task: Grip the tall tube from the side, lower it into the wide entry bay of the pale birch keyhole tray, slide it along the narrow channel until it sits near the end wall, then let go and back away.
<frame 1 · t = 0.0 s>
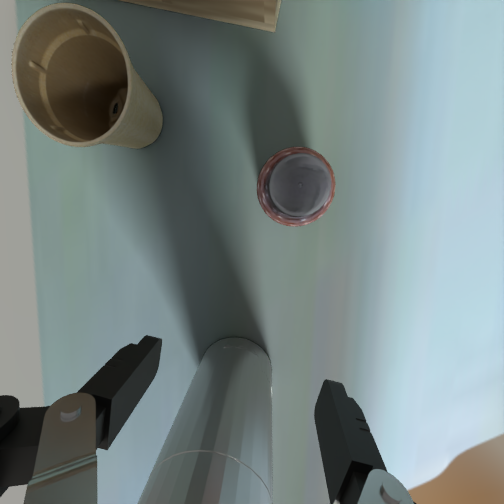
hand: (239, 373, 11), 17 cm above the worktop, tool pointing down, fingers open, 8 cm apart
flower pot: (136, 119, 26), on the worktop
supplement bottle: (287, 192, 26), on the worktop
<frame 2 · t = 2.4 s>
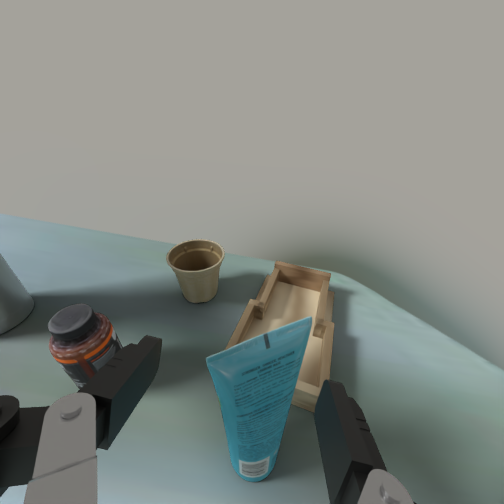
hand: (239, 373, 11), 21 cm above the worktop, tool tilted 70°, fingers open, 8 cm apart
flower pot: (200, 292, 45), on the worktop
keyhole tray: (285, 331, 38), on the worktop
supplement bottle: (106, 373, 32), on the worktop
tube: (251, 451, 25), on the worktop
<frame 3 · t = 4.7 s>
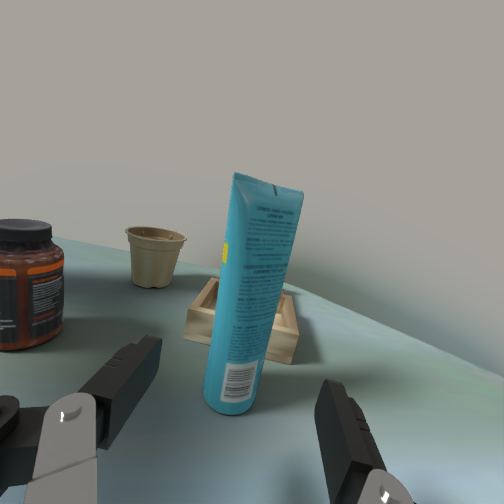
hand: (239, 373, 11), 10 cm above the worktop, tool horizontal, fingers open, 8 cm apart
flower pot: (151, 282, 41), on the worktop
keyhole tray: (245, 311, 38), on the worktop
supplement bottle: (25, 335, 24), on the worktop
tube: (226, 393, 22), on the worktop
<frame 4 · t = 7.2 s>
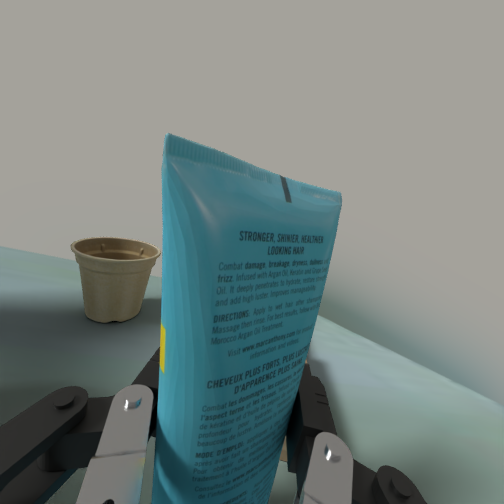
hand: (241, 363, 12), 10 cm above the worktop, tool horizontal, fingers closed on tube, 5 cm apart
flower pot: (114, 311, 31), on the worktop
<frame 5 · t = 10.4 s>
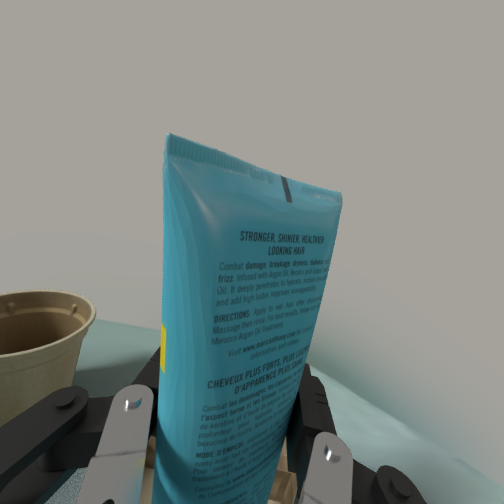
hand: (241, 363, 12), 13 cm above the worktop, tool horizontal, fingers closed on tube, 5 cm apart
flower pot: (27, 403, 21), on the worktop
keyhole tray: (204, 492, 18), on the worktop
when the fingers open (12 cm above the worktop, at t = 13.7 s): tube stays where it is, resting on keyhole tray.
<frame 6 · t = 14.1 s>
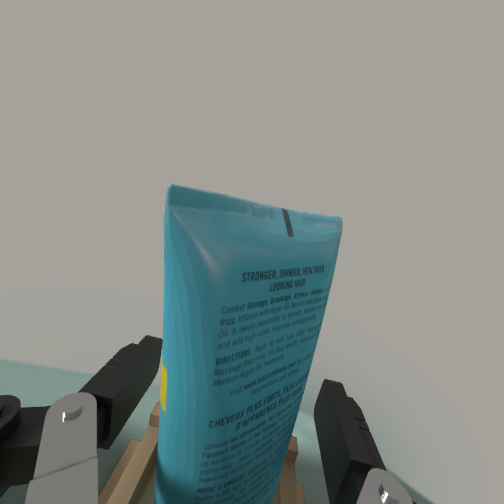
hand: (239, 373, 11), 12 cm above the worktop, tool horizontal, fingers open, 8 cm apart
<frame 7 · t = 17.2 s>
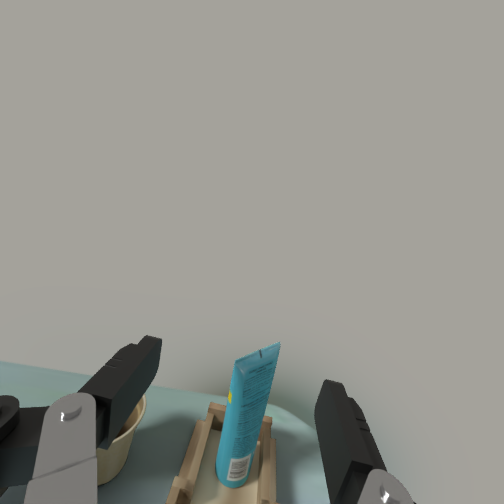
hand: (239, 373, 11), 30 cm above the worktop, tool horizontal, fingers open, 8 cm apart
flower pot: (101, 461, 32), on the worktop
tube: (230, 468, 33), point 1 cm above the worktop, touching keyhole tray
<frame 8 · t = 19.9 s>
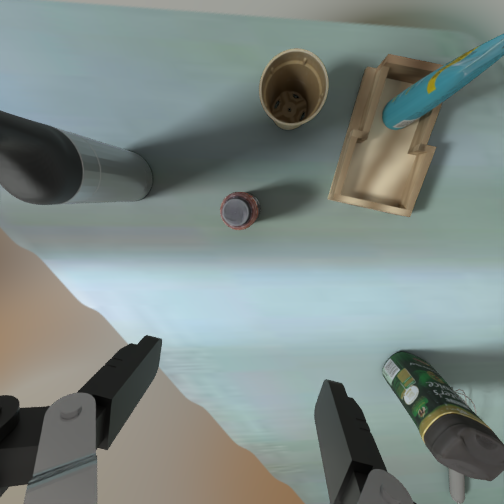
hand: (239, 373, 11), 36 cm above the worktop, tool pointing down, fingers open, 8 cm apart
kitchen whisk: (449, 438, 54), on the worktop
flower pot: (289, 110, 41), on the worktop
keyhole tray: (381, 149, 41), on the worktop
coffee jar: (404, 367, 50), on the worktop
supplement bottle: (245, 208, 46), on the worktop
tube: (395, 114, 39), point 1 cm above the worktop, touching keyhole tray
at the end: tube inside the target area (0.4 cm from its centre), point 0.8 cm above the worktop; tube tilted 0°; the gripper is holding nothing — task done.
